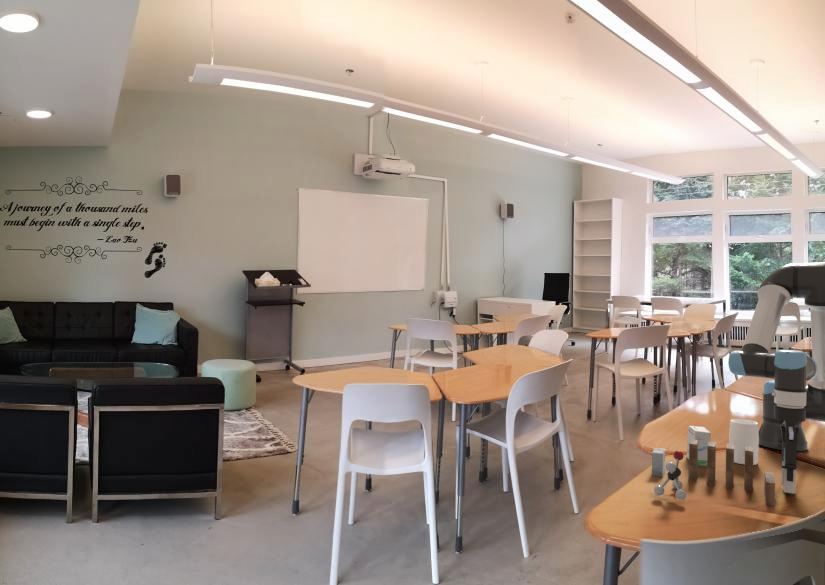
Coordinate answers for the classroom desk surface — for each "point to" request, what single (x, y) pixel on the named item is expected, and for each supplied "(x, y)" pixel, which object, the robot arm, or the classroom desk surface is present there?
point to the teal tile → (783, 472)
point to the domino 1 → (693, 460)
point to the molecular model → (673, 477)
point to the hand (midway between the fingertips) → (788, 488)
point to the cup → (744, 439)
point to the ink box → (699, 442)
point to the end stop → (658, 462)
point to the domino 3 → (730, 465)
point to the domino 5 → (769, 488)
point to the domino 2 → (711, 463)
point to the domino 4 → (748, 468)
